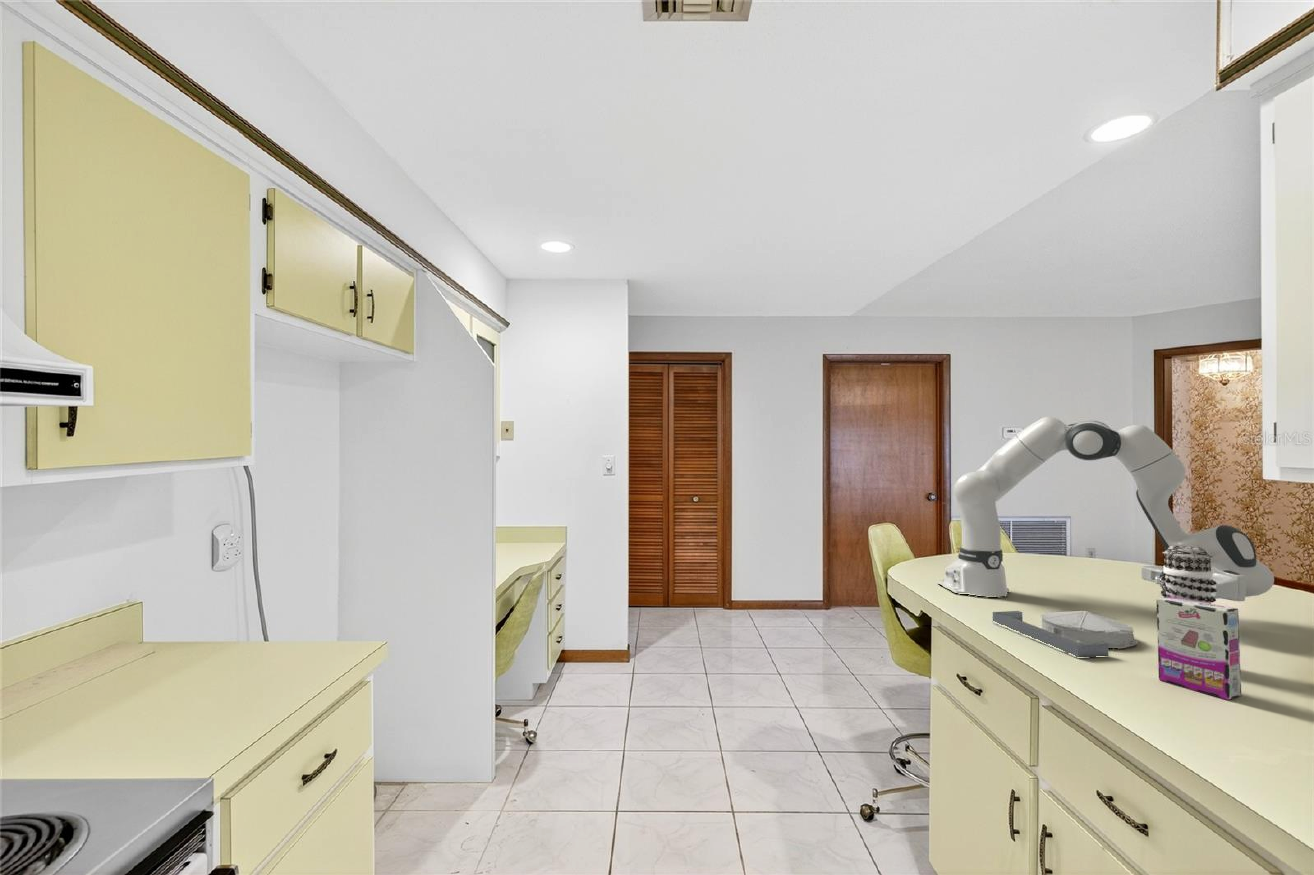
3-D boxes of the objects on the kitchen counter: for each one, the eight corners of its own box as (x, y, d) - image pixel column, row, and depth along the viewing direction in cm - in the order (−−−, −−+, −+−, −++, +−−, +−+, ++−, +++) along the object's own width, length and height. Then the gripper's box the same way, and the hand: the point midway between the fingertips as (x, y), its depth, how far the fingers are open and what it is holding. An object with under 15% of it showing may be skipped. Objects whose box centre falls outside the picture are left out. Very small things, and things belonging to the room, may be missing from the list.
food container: (1018, 632, 152) (1018, 605, 152) (1072, 622, 159) (1072, 597, 159) (1100, 658, 134) (1099, 628, 134) (1157, 646, 140) (1157, 617, 140)
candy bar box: (1242, 696, 111) (1240, 608, 111) (1229, 701, 109) (1227, 611, 109) (1170, 676, 121) (1168, 595, 121) (1157, 680, 119) (1155, 597, 119)
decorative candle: (1156, 663, 128) (1154, 547, 128) (1166, 653, 134) (1163, 542, 134) (1214, 675, 121) (1211, 552, 121) (1221, 665, 127) (1218, 547, 127)
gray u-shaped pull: (992, 623, 157) (992, 612, 158) (1018, 622, 159) (1018, 610, 159) (1078, 659, 131) (1078, 645, 131) (1108, 657, 132) (1108, 643, 132)
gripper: (1167, 559, 162) (1122, 560, 160) (1252, 577, 142) (1202, 578, 140) (1167, 582, 162) (1122, 584, 160) (1252, 603, 142) (1202, 605, 140)
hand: (1160, 581), depth 150 cm, fingers closed
